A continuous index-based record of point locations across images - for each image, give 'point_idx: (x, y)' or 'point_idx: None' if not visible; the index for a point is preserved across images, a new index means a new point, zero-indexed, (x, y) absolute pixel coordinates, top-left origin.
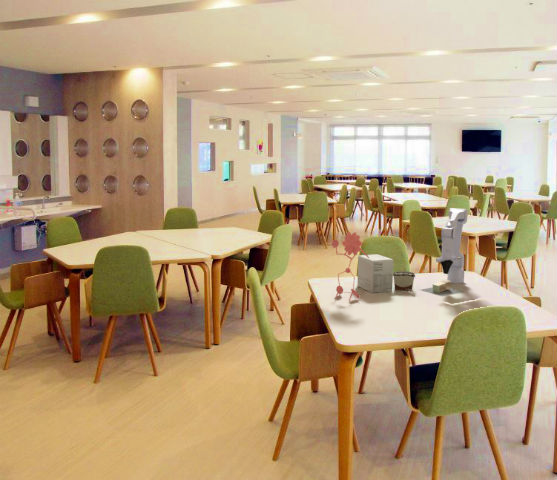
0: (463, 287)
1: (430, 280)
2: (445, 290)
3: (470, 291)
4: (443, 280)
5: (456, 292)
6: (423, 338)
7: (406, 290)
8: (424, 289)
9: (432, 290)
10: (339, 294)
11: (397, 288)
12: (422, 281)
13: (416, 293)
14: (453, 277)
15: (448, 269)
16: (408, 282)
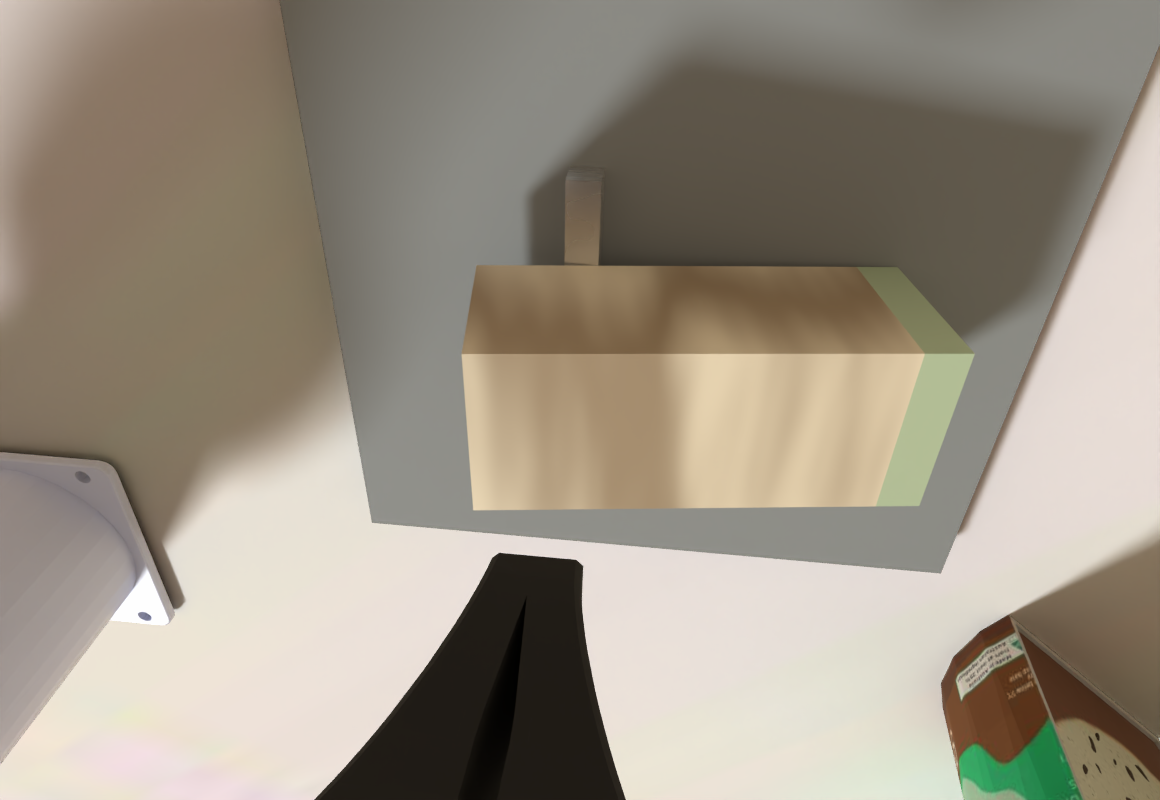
0: (12, 312)
1: (270, 740)
2: None
3: (32, 18)
4: (547, 500)
5: (514, 43)
6: None
7: (1060, 665)
8: (856, 544)
9: None
10: None
11: (1152, 754)
12: None
13: (1103, 515)
14: (15, 590)
15: (486, 682)
16: (1109, 783)
